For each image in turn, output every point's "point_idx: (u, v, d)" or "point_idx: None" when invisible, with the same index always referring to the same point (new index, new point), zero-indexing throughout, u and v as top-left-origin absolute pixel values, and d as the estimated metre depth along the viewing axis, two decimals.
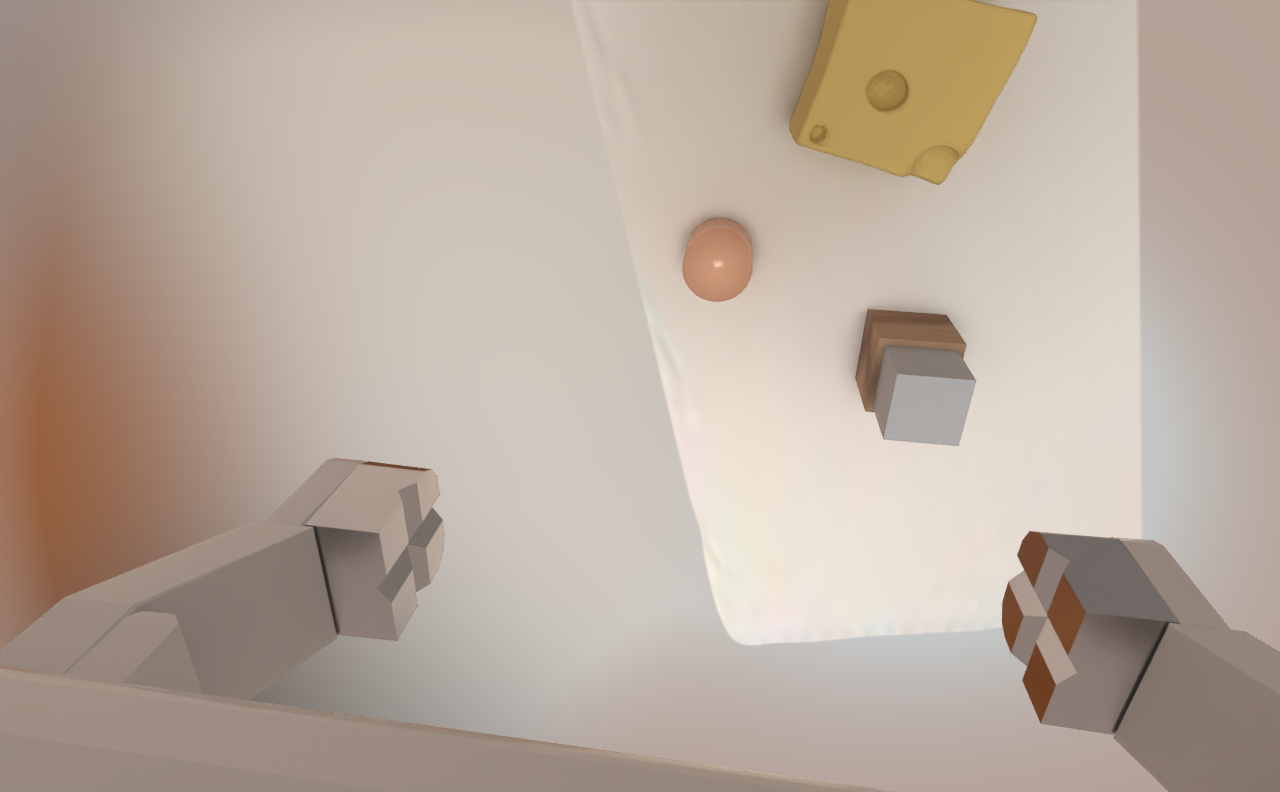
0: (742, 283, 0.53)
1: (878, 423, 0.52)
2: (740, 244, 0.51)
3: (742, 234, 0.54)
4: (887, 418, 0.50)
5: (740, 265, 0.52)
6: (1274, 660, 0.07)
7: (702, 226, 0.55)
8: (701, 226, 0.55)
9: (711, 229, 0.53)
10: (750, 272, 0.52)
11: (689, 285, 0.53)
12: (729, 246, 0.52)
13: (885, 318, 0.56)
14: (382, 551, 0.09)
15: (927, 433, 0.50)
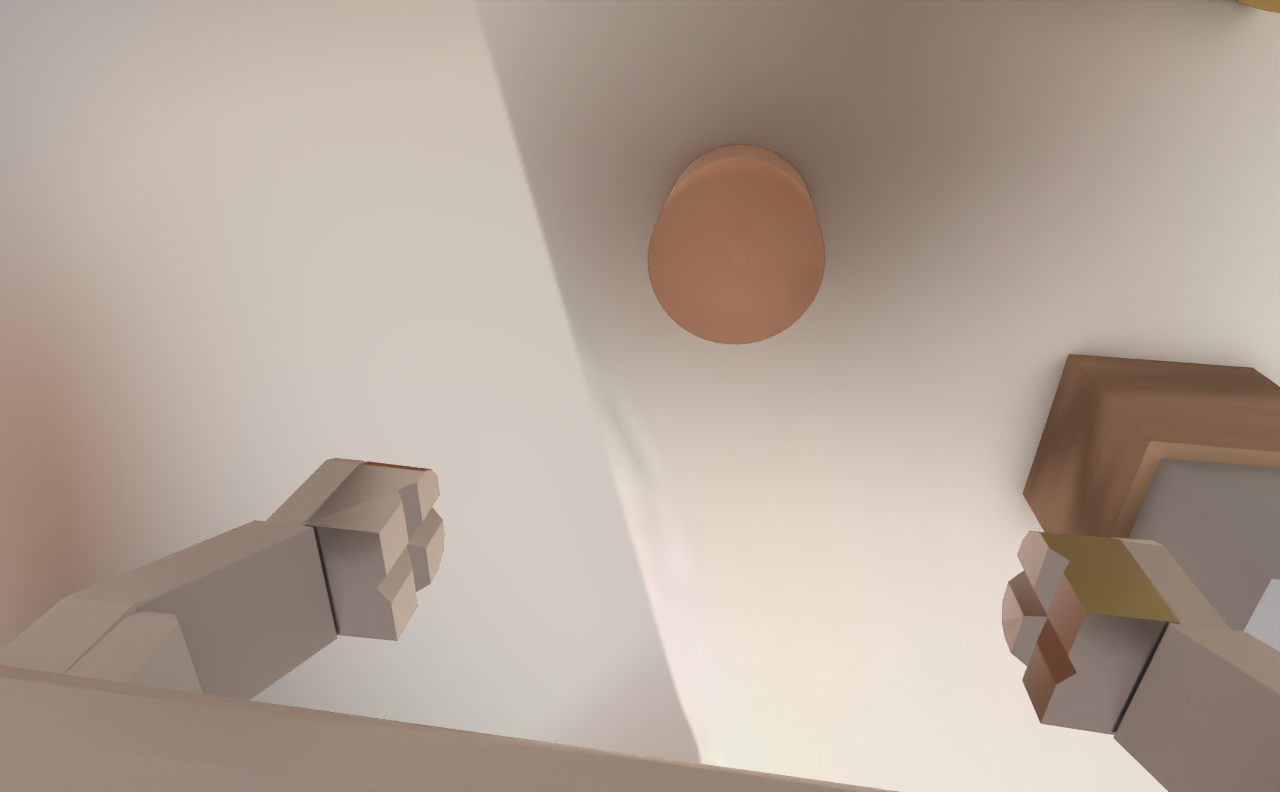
0: (798, 300, 0.21)
1: None
2: (796, 199, 0.20)
3: (795, 179, 0.22)
4: None
5: (793, 254, 0.20)
6: (1274, 660, 0.07)
7: (698, 162, 0.23)
8: (695, 163, 0.23)
9: (720, 164, 0.21)
10: (820, 273, 0.20)
11: (665, 305, 0.22)
12: (767, 205, 0.20)
13: (1122, 378, 0.24)
14: (382, 551, 0.09)
15: None
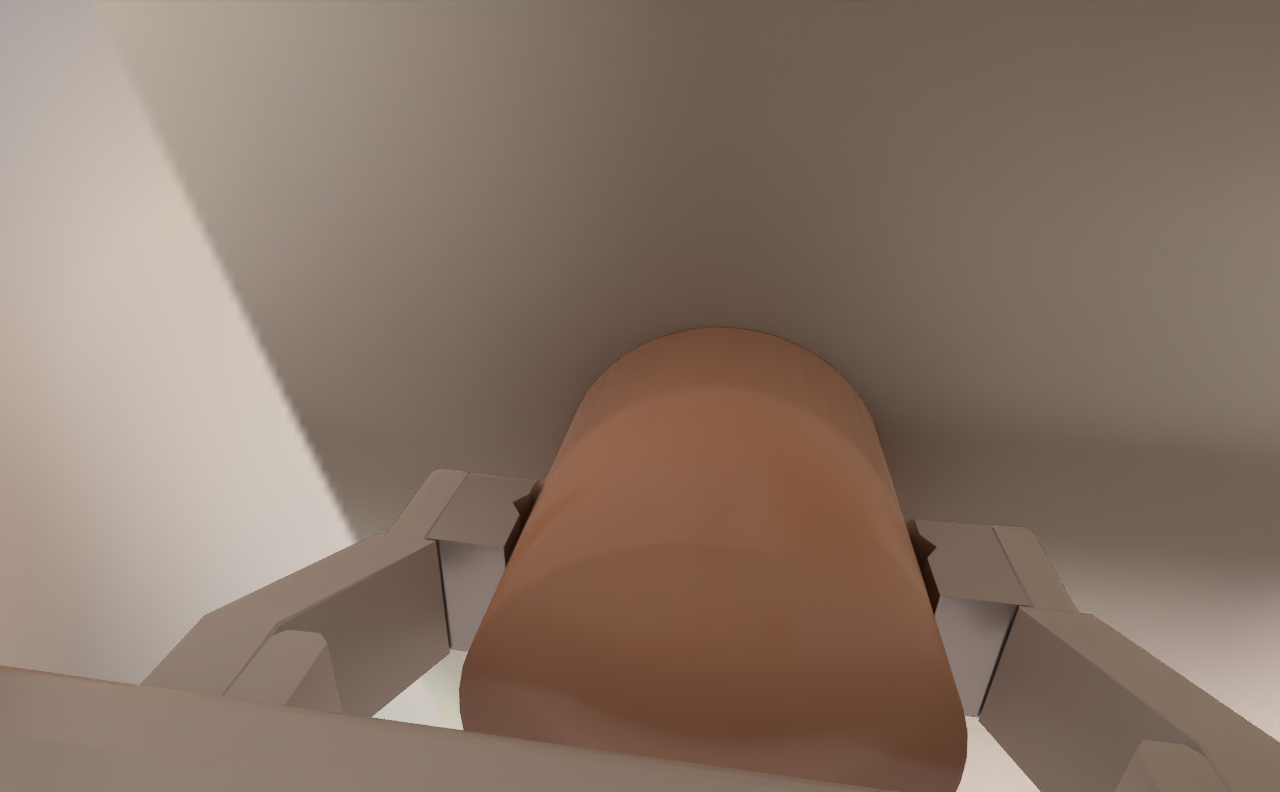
0: None
1: None
2: (889, 620, 0.06)
3: (862, 456, 0.09)
4: None
5: (872, 742, 0.07)
6: (1111, 641, 0.07)
7: (623, 384, 0.10)
8: (619, 381, 0.10)
9: (662, 450, 0.08)
10: (948, 785, 0.07)
11: None
12: (798, 628, 0.06)
13: None
14: (505, 565, 0.09)
15: None
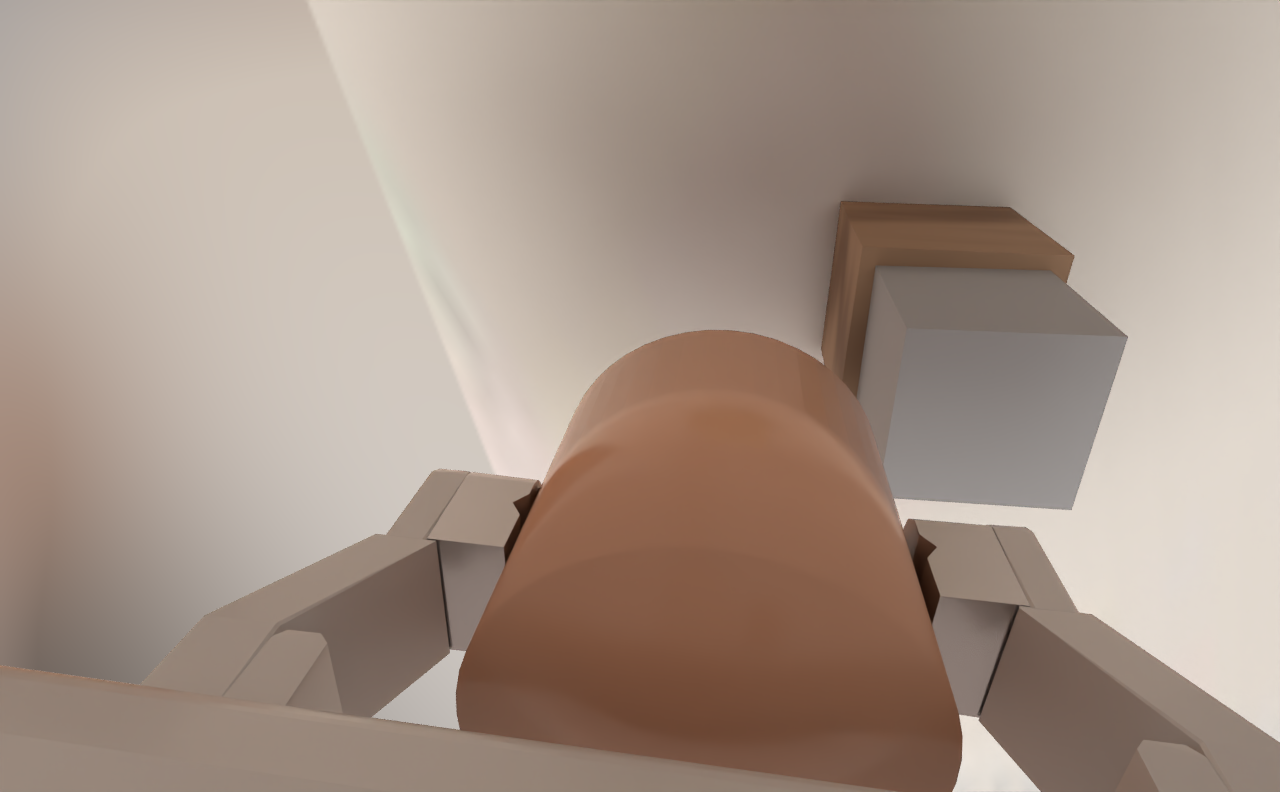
0: None
1: None
2: (885, 623, 0.06)
3: (858, 459, 0.09)
4: (885, 445, 0.19)
5: (868, 745, 0.07)
6: (1112, 641, 0.07)
7: (620, 386, 0.10)
8: (616, 383, 0.10)
9: (659, 453, 0.08)
10: (943, 788, 0.07)
11: None
12: (794, 631, 0.06)
13: (877, 213, 0.25)
14: None
15: (989, 481, 0.19)
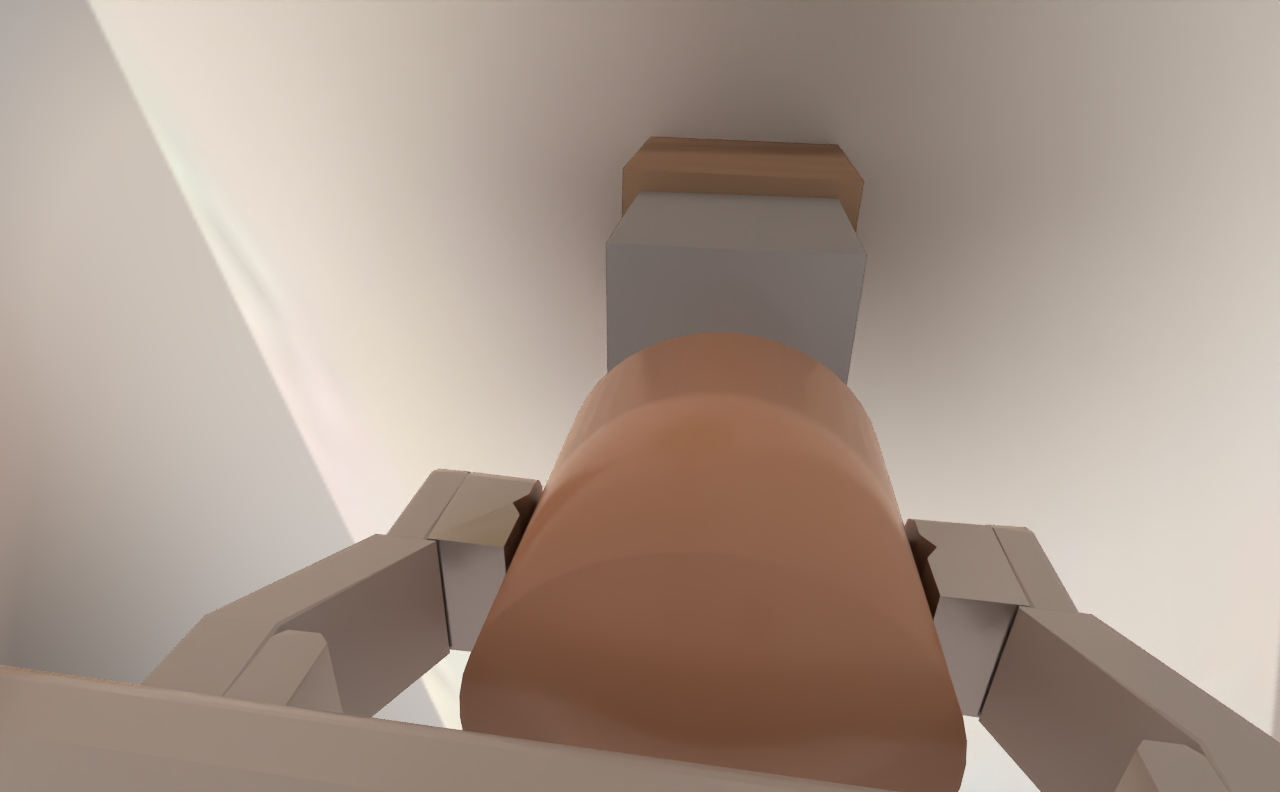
0: None
1: None
2: (889, 629, 0.06)
3: (862, 462, 0.09)
4: None
5: (872, 749, 0.07)
6: (1112, 641, 0.07)
7: (623, 389, 0.10)
8: (619, 386, 0.10)
9: (662, 457, 0.08)
10: None
11: None
12: (798, 636, 0.06)
13: (678, 145, 0.22)
14: (505, 565, 0.09)
15: None
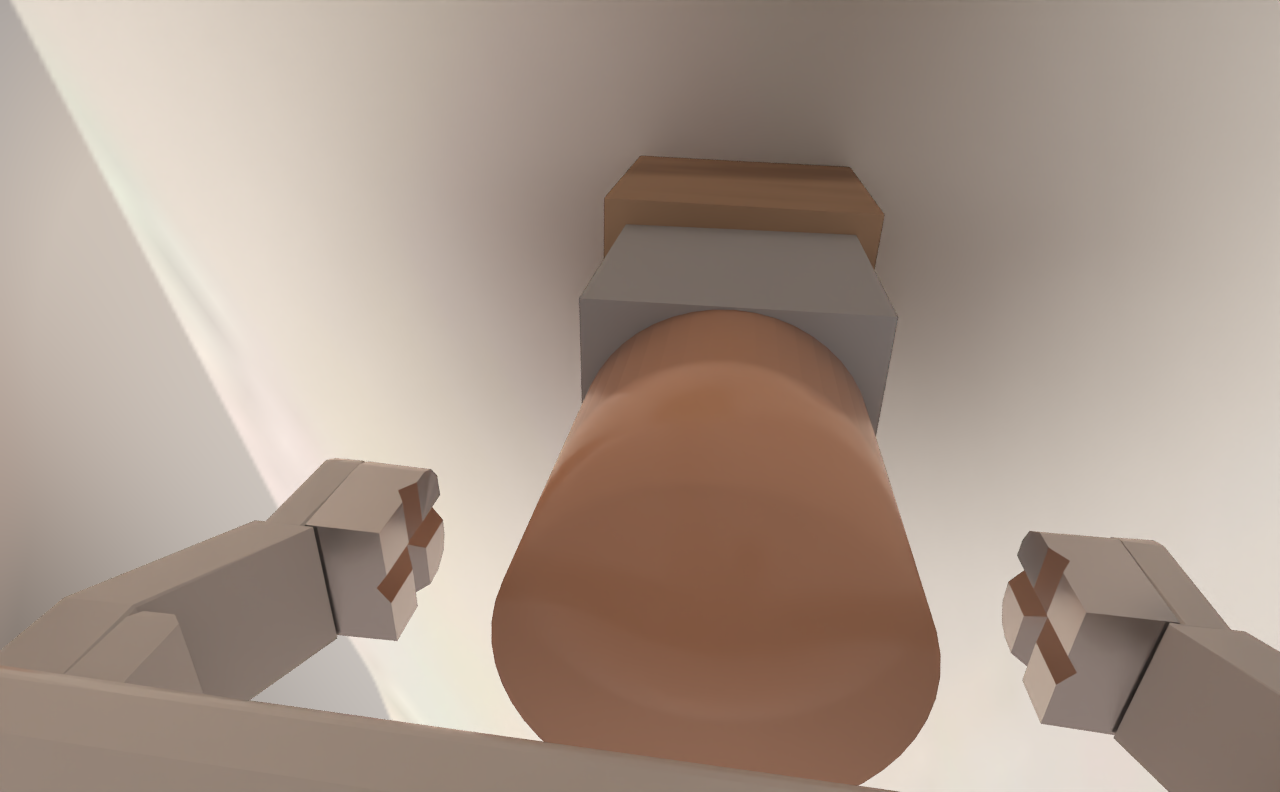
0: (865, 751, 0.08)
1: None
2: (870, 550, 0.07)
3: (850, 420, 0.10)
4: None
5: (858, 664, 0.08)
6: (1274, 660, 0.07)
7: (633, 359, 0.11)
8: (629, 357, 0.11)
9: (672, 411, 0.09)
10: (924, 704, 0.08)
11: (544, 732, 0.09)
12: (792, 559, 0.07)
13: (670, 168, 0.20)
14: (382, 551, 0.09)
15: None
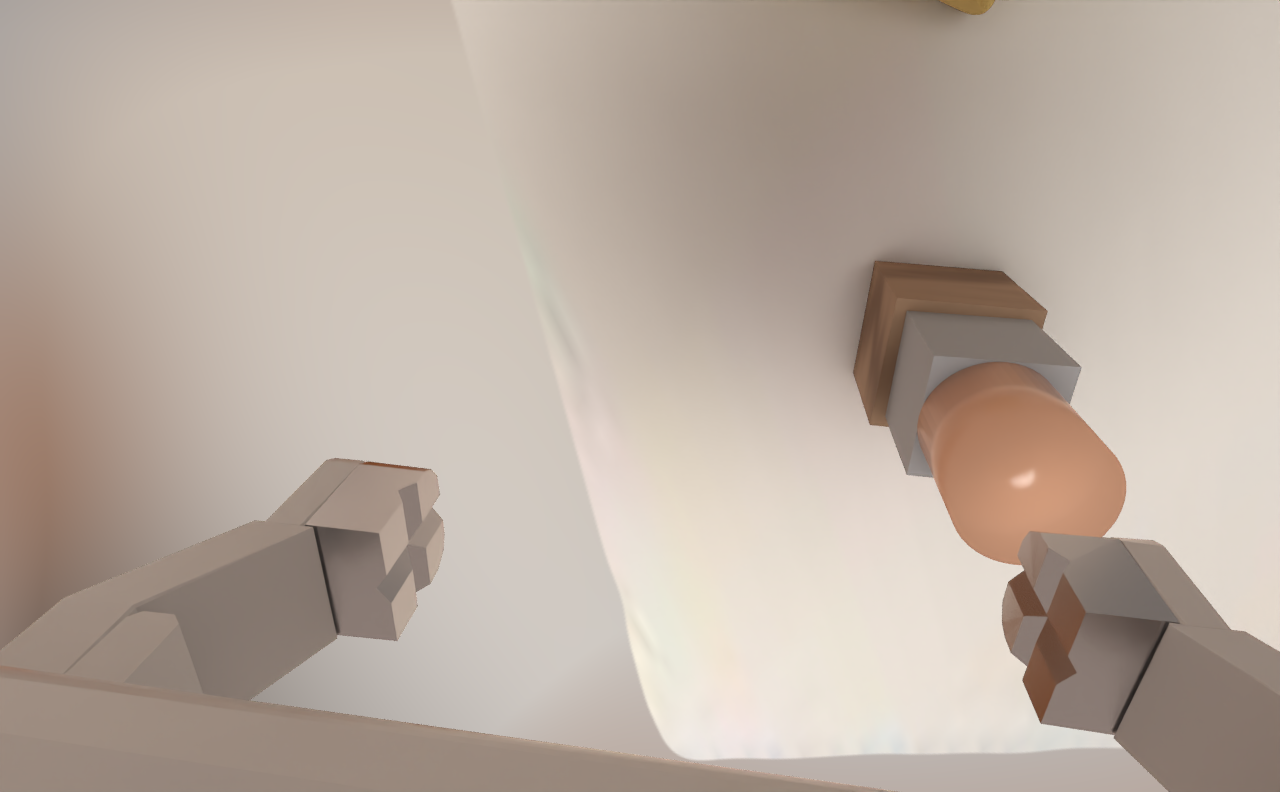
0: (1091, 533, 0.23)
1: (896, 446, 0.30)
2: (1107, 452, 0.21)
3: (1075, 411, 0.24)
4: (914, 437, 0.28)
5: (1094, 496, 0.22)
6: (1274, 660, 0.07)
7: (971, 383, 0.25)
8: (967, 382, 0.25)
9: (1019, 405, 0.23)
10: (1117, 512, 0.22)
11: (960, 529, 0.23)
12: (1079, 455, 0.22)
13: (903, 272, 0.34)
14: (382, 551, 0.09)
15: None
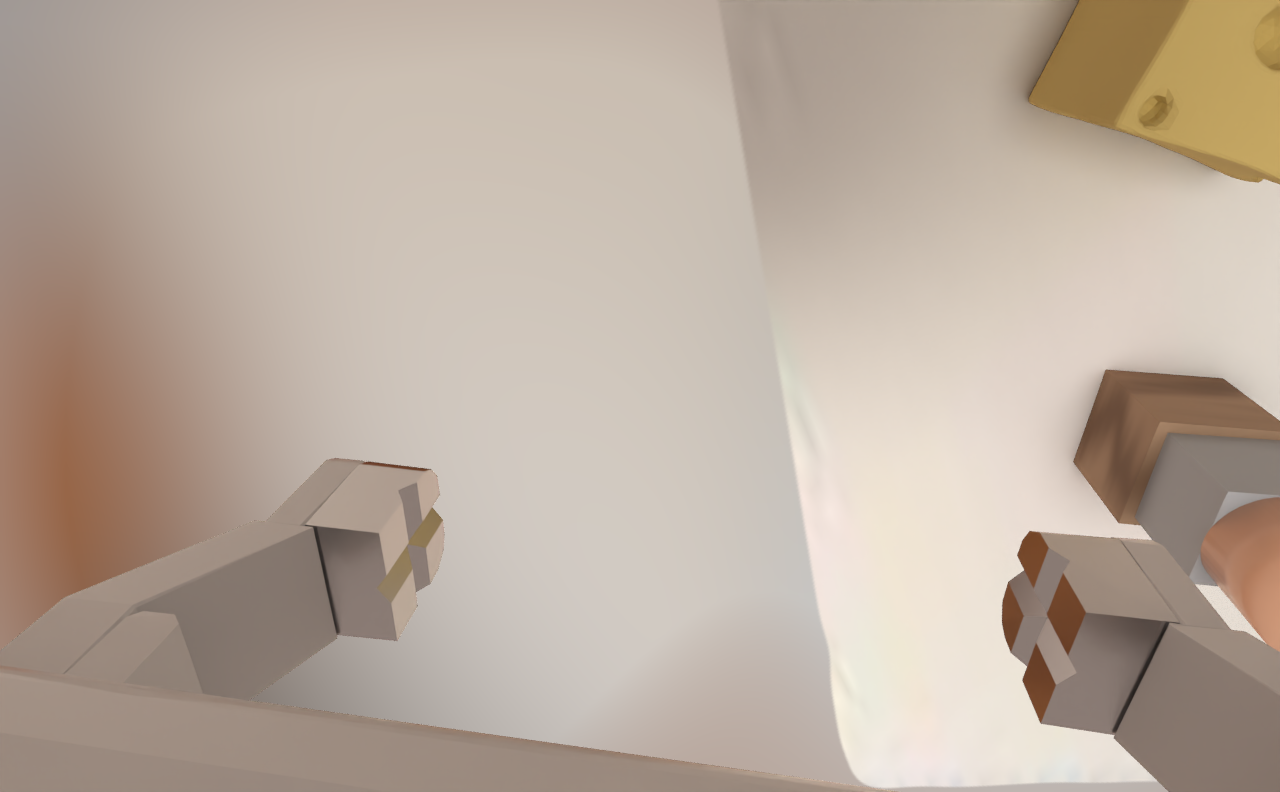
0: None
1: None
2: None
3: None
4: (1197, 553, 0.32)
5: None
6: (1274, 660, 0.07)
7: (1269, 519, 0.30)
8: (1263, 517, 0.30)
9: None
10: None
11: (1278, 650, 0.28)
12: None
13: (1141, 384, 0.38)
14: (382, 551, 0.09)
15: None
